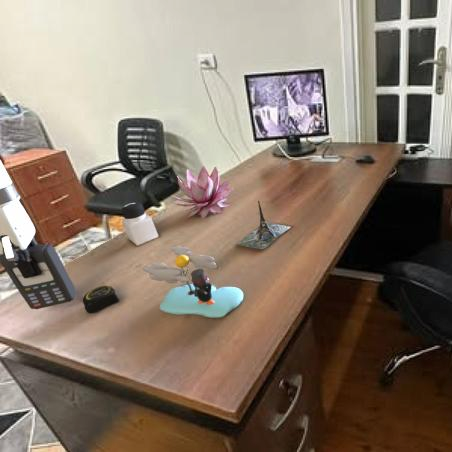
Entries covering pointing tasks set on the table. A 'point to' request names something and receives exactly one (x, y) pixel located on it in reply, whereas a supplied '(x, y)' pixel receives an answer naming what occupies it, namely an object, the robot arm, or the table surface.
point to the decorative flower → (204, 192)
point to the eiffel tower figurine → (263, 233)
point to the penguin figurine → (194, 287)
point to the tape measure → (99, 299)
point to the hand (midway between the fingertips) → (35, 269)
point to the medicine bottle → (138, 224)
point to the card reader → (42, 279)
